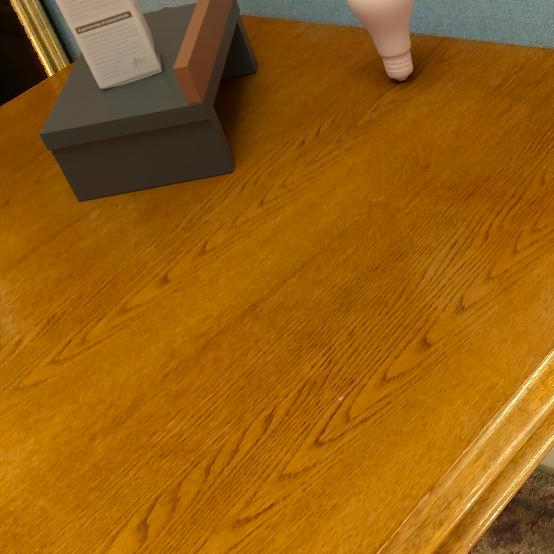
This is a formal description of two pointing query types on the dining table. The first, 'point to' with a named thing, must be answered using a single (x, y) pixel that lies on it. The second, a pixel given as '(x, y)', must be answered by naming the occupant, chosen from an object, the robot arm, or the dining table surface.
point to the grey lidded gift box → (153, 108)
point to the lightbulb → (388, 32)
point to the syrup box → (112, 39)
